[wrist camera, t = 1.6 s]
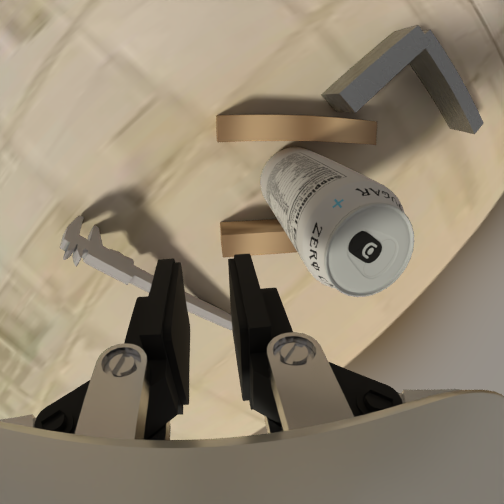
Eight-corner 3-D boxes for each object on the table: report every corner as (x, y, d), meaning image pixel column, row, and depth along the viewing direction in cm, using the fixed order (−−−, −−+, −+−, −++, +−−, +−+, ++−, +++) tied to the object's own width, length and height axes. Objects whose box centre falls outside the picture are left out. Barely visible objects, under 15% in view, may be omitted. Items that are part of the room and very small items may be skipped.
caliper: (76, 221, 26) (48, 250, 20) (81, 212, 26) (53, 239, 20) (238, 327, 34) (244, 368, 28) (244, 321, 33) (252, 361, 28)
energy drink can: (298, 222, 29) (371, 322, 15) (245, 189, 27) (285, 276, 13) (335, 170, 27) (441, 233, 14) (283, 132, 25) (368, 162, 12)
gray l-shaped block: (458, 130, 26) (482, 136, 23) (320, 110, 24) (339, 111, 21) (458, 54, 22) (483, 53, 19) (319, 15, 20) (337, 3, 17)
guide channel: (221, 242, 29) (222, 257, 26) (215, 115, 24) (217, 115, 21) (351, 234, 30) (364, 247, 28) (361, 119, 25) (377, 121, 22)
